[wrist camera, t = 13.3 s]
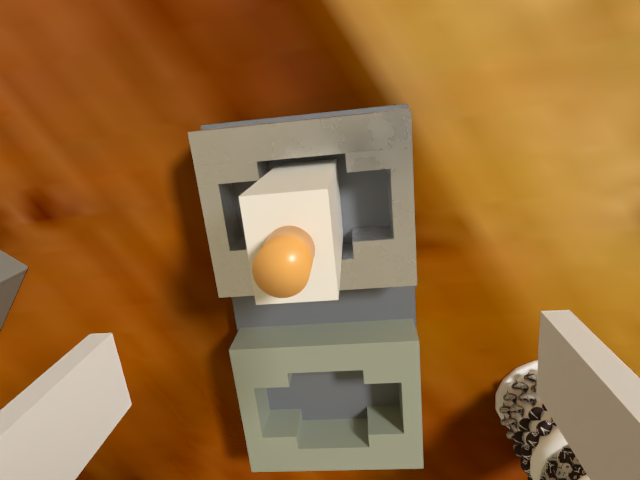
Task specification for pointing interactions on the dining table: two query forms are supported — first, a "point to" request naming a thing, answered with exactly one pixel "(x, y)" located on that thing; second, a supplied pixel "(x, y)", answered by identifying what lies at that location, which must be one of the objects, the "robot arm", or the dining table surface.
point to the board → (353, 305)
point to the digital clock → (9, 282)
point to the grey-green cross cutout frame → (331, 434)
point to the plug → (294, 233)
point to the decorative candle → (534, 428)
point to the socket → (305, 141)
